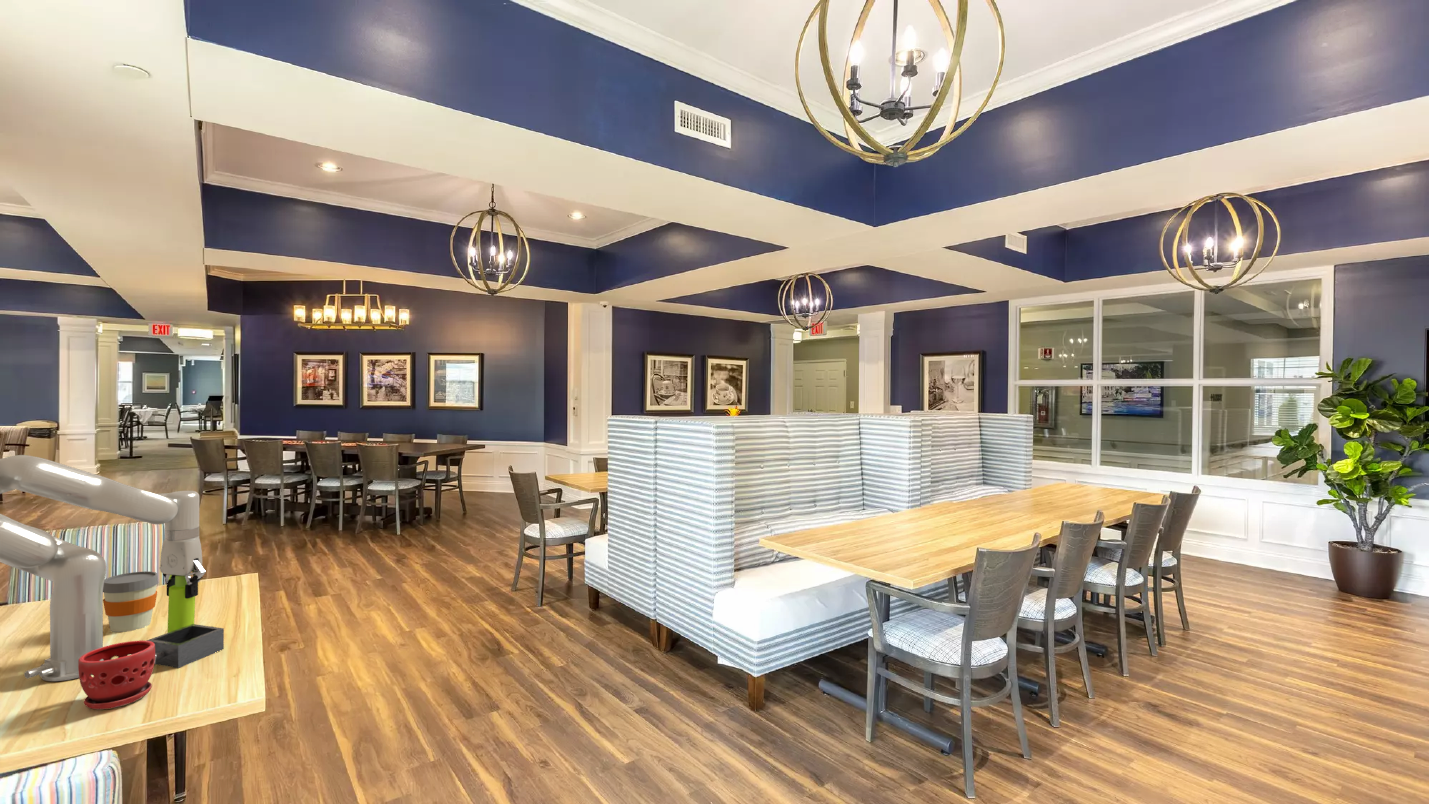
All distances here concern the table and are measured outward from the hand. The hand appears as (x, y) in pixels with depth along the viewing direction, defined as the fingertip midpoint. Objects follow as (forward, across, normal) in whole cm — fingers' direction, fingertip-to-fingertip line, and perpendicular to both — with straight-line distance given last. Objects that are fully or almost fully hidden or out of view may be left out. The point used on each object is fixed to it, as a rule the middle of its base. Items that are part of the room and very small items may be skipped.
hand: (182, 595), depth 181 cm
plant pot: (+13, +21, -30) cm, 39 cm away
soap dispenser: (+11, 0, 0) cm, 11 cm away
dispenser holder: (+13, +12, -10) cm, 20 cm away
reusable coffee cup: (+13, -24, +3) cm, 28 cm away
